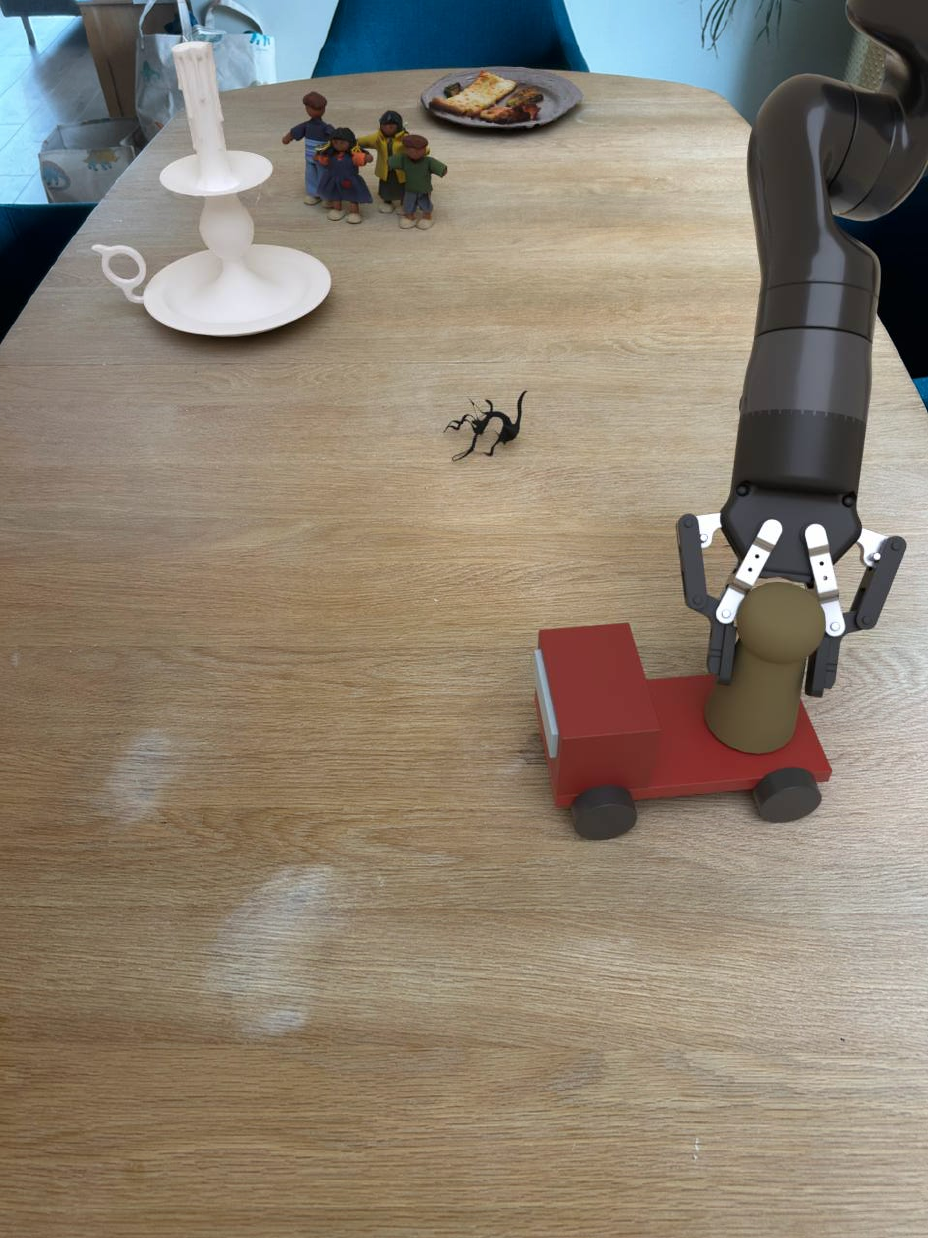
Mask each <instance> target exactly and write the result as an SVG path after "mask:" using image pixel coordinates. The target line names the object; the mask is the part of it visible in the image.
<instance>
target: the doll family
mask: <svg viewBox="0 0 928 1238" xmlns="http://www.w3.org/2000/svg"><path fill="white" fill-rule="evenodd" d="M302 105H304V106H305V107H304V108H305V111H306V113H307V115H308V116H309V117H310V119H309V120H306V121H304V122H301V123H299V124H296V125H295V126H293V127H291V128H290V130H289V132H287V133H286V135H285V136H283V137H282V139H281V142H282V144H283V145H284V146H287V145H289V144H290V143H291V142H293V141H294V140H295V142H300V141H302V140H303V139H304V145H305V146H304V160H305V169H304V183H305V194H306V196H305V197H304V198H303V202H304V203H305V204H306V205H315V204H317V203H319V202H320V201H322V202H321V206H322V207H323V208H333V209H331V210H330V211H329V212H328V214H327V218H328V219H329V220H331V221H332V220H333V221H337V220H341V219H342V218H343V217H344V216H345V215H346V214H347V212H346V211H345V209H344V208H343V207H342V201H343V202H347V203H350V213H349V214H348V215H347V217H346V221H347V223H350V224H351V223H354V224H357V223H360V222H362V221H363V218H362V215H361V214H360V213H359V211H360V210H359V205H364V204H372V203H374V199H373V196H372V194H371V191H370V189H369V186H368V185H367V183H366V180H365V179H364V177H363V176H362V175H361V174H360V168H361V167H366V166H367V165H368V164H371V163H373V162H374V156H373V155H372V154H371V153H370V151H369V149H370V150H376V162H375V167H374V176H375V177H377V178H378V179H379V180H378V188H377V189H378V190H377V195H378V196H379V197H380V199H382V200H383V203H381V204H380V206H379V208H378V211H380V212H381V213H385V214H386V213H387V214H388V213H392V212H394V211H395V212H396V214H397V215H402V216H405V217H403V218H401V219H400V220H399V221H398V225H397V226H398V227H399V228H401V229H411V228H413V227H414V226H415V227H416V228H418V229H421V230H429V229H430V228H432V227H433V226H434V224H435V220H434V219H433V218H432V212H433V211H434V204H433V202H432V192H433V191H434V186H433V184H432V179H433V178H432V177H433V176H432V175H436V176H437V177H439V178H441V179H443V178H444V177H445V176H446V175H447V174H448V165H446V164H445V163H443V162H442V161H439V160H438V159H436V158H435V157H433V156H430V153H431V147H429V140H428V139H427V137H425V136H423V135H420V134H414V133H413V134H412V133H411V134H410V132H409V131H408V130H407V129H406V126H408V125H409V121H405V122H403V116H402V115H401V114H400V113H399V112H398V111H396V110H390V109H388V110H386V111H385V112H383V114H382V115H381V116H380V117H379V119H378V122H379V127H377V131H375V132H373V133H371V134H368V135H365V136H359V137H357V138H356V134H355V132H354V131H353V130H351V129H350V127H342V126H339V127H336V128H335V126H334V125H332V124H331V123H327V122H325V121H323V118H322V117H323V116H324V115H325V112H326V107H327V105H328V99H326V97H325V96H323V95H322V94H320V93H318V92H317V91H313V90H312V91H310V92H309V93H307V94H305V95H303V97H302ZM367 149H368V150H367ZM393 201H400V202H399V203H400V204H399V205H398V206H397V208H396V209H395V207H396V205H395V203H394V202H393ZM418 209H419V211H421V212H422V218H420V219H418V218H416V217H415V213H417V211H418Z"/></svg>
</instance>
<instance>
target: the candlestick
mask: <svg viewBox="0 0 928 1238" xmlns="http://www.w3.org/2000/svg"><path fill="white" fill-rule="evenodd" d="M182 38H183V39H184V41H185V42H181V43H178V44H177V43H176V44H175V45H173V46H172V47H171V52H172V57H173V58H172V59H173V63H174V68H175V72H176V78H177V88H178V90H179V91H182V95H183V101H184V106H185V111H186V116H187V120H188V125H189V129H190V130H189V131H190V135H191V140H192V148H193V150H195V151H196V153H195V154H191V155H187V156H184V157H182V158H178V159H177V160H174V161H172V162H171V163H169V164H167V166H165V167H164V168H163V169H162V170H161V172H160V174H159V183H160V184H161V185H162V187H164V188H165V189H167V190H169V191H171V192H174V193H177V194H182V195H188V196H193V197H194V196H195V197H203V199H204V206H203V209H202V211H201V214H200V217H199V224H198V227H199V229H198V231H199V233H200V234H199V235H200V237H201V239H202V241H203V243H204V244H205V246H206V247H207V248H208V249H205V250H202V251H198V252H194V253H192V254H189V255H186V256H184V257H182V258H178V259H177V260H175V261H173V262H171V263H169V264H168V265H166V266H165V267H163V268H162V269H160V270H159V271H157V273H156V274H155V275H153V276H152V278H151V279H150V280H149V281H148V282H147V283H146V286H145V288H144V289H143V295H136V294H135V292H134V288H136V287H138V286H139V285H141V283H142V282H144V280H145V277H146V273H147V265H146V262H145V259H144V258H143V256H142V255H141V253H139V251H137V250H136V249H135V248H133V247H130V246H127V245H120V244H117V245H112V246H108V245H104V244H100V243H98V244H97V243H96V244H93V245H92V246H91V251H94V252H97V253H99V254H100V255H101V257H102V258H101V269H102V272H103V274H104V276H105V277H106V278H107V280H109V282H111V283H112V284H113V285H115V286H117V287H118V288H120V289H121V290H122V292H123V294H124V296H125V297H126V299H127V300H128V301H129V302H131V303H133V304H142V305H144V308H145V310H146V311H147V313H148V314H149V315H150V316H151V317H152V318H154V319H155V320H156V321H157V322H159V323H161V324H163V325H165V326H167V327H169V328H172V329H175V330H176V331H182V332H185V333H191V334H195V335H196V334H197V335H205V336H210V337H211V336H213V337H243V336H252V335H256V334H261V333H265V332H269V331H272V330H275V329H277V328H280V327H282V326H285V325H287V324H289V323H292V322H293V321H296V320H298V319H299V318H302V317H303V316H304V317H305V316H306V315H307V314H309V313H310V312H312V311H313V310H314V309H316V308H317V307H318V306H319V305H320V304H321V303H323V301H324V300H325V299H326V297H327V296H328V294H329V292H330V290H331V286H332V277H331V273H330V271H329V269H328V268H327V266H326V265H325V264H324V263H322V261H321V260H319V259H318V258H317V257H314V256H312V255H310V254H308V253H306V252H304V251H301V250H299V249H295V248H291V247H287V246H281V245H273V244H265V243H264V244H261V243H253V240H254V237H255V223H254V221H253V217H252V215H251V214H250V212H249V210H247V208H246V207H245V205H244V204H243V203H242V202H241V200H240V199H239V195H238V193H240V192H243V191H246V190H249V189H252V188H254V187H257V186H259V185H261V184H262V183H264V182H266V181H267V180H268V179H269V178H270V176H271V175H272V173H273V169H274V167H273V164H272V163H271V161H270V160H269V159H268V158H266V157H264V156H262V155H260V154H257V153H254V152H249V151H243V150H242V151H241V150H229V149H227V146H226V140H225V135H224V128H223V123H222V122H225V119H224V115H223V110H222V106H221V101H220V93H219V90H220V89H219V82H218V76H217V64H216V61H215V57H214V51H213V48H214V47H213V43H212V42H210V41H198V40H196V41H195V40H193V41H188V39H187V38H186V37H185V35H182ZM121 254H122V255H126V256H128V257H130V258H132V259H133V260H134V261H135V263H136V264H137V266H138V270H139V272H138V274H137V275H136V276H135V277H133V278H130V279H126V278H122V277H119V276H118V275H116V274H115V273H114V272H113V271H112V270H111V268H110V259H111V258H113V257H114V256H116V255H121Z"/></svg>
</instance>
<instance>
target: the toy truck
mask: <svg viewBox="0 0 928 1238" xmlns="http://www.w3.org/2000/svg"><path fill="white" fill-rule="evenodd" d="M537 637H538V638H537V639H538V640H537V649H534V653H533V669H532V673H533V674H532V675H533V680H534V684H535V685H534V686H535V689H534V705H535V710H536V715H537V719H538V725H539V730H540V734H541V740H542V746H543V751H544V757H545V759H546V761H545V762H546V766H547V771H548V776H549V781H550V786H551V791H552V796H553V802H554V807H555V808H562V807H570V810H571V816H572V820H573V825H574V829H575V831H576V833H577V834H578V835H579V836H580V837H582V838H584V839H587V840H592V841H602V840H603V841H606V840H611V839H614V838H618V837H620V836H623V835H624V834H626V833H628V832H629V831H630V830H632V829H633V828H634V827H635V826H636V824H637V822H638V813H637V809H636V806H635V805H636V804H635V802H634V801H638V800H648V799H658V798H659V799H661V798H669V797H679V796H680V797H681V796H691V795H699V794H700V795H702V794H712V793H722V792H723V793H724V792H734V791H743V790H744V791H745V790H752V795H753V798H754V801H755V804H756V807H757V809H758V812H759V815H760V816H761V818H763V819H764V820H765V821H768V822H771V823H781V824H782V823H789V822H790V823H791V822H794V821H797V820H800V819H803V818H805V817H806V816H809V815H810V814H812V813H814V812H815V811H816V810H817V809H818V808H819V806H820V805H821V803H822V799H823V796H822V793H821V790H820V788H819V785H818V783H828V782H830V781H829V780H830V778H831V776H832V774H833V769H832V767H831V764H830V762H829V760H828V758H827V755H826V753H825V751H824V748H823V746H822V743H821V741H820V739H819V737H818V734H817V732H816V730H815V728H814V725H813V723H812V721H811V719H810V716H809V714H808V712H807V710H806V707H805V705H804V703H803V700H802V697H800V703H799V709H798V715H797V721H796V727H795V731H794V734H793V736H792V739H791V740H790V741H789V742H788V743H787V744H786V745H785V746H784V747H782V748H780V749H778V750H775V751H773V752H769V753H761V754H756V753H748V752H742V751H740V750H737V749H735V748H732V747H729V746H728V745H726V744H725V743H724V742H722V741H721V740H719V739H718V738H717V737H716V736H715V735H714V734H713V732H712V731H711V730H710V729H709V727H708V725H707V722H706V720H705V717H704V706H705V704H706V701H707V699H708V697H709V695H710V693H711V691H712V689H713V687H714V685H715V674H710V673H708V674H707V673H706V674H695V675H685V676H673V677H661V678H648V679H647V677H646V675H645V671H644V667H643V664H642V661H641V657H640V654H639V651H638V647H637V644H636V641H635V638H634V635H633V632H632V627H631V625H630V622H618V623H617V622H616V623H606V624H593V625H581V626H569V627H557V628H556V627H555V628H545V629H539V630H538V636H537Z"/></svg>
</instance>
